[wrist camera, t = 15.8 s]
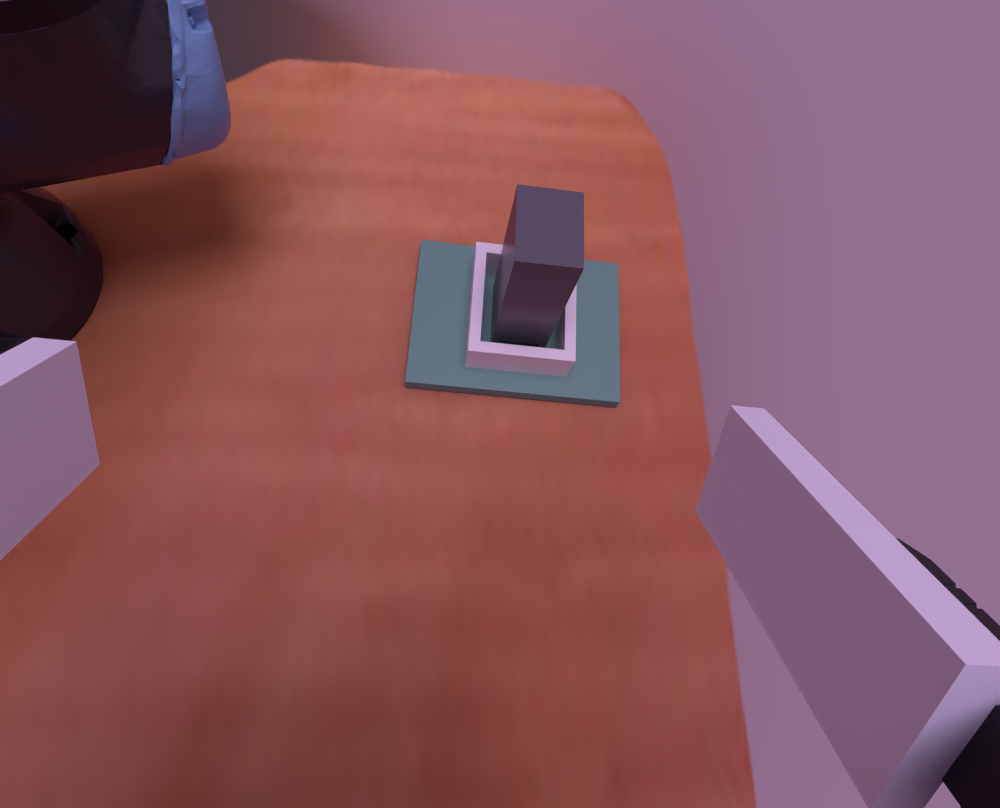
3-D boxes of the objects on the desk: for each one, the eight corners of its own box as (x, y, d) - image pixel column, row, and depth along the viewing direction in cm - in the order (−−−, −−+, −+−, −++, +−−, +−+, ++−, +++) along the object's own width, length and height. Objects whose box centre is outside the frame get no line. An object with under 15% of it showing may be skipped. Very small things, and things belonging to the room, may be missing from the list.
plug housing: (489, 348, 44) (514, 260, 33) (493, 287, 46) (517, 184, 35) (542, 353, 45) (584, 268, 34) (543, 292, 47) (583, 192, 35)
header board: (405, 387, 44) (404, 365, 40) (421, 248, 48) (421, 216, 44) (615, 407, 46) (633, 388, 42) (613, 271, 50) (630, 242, 46)
